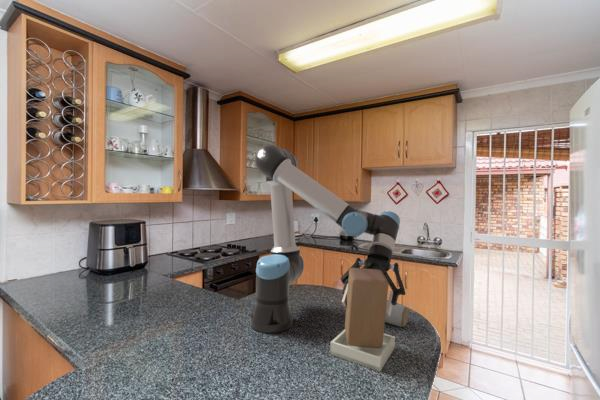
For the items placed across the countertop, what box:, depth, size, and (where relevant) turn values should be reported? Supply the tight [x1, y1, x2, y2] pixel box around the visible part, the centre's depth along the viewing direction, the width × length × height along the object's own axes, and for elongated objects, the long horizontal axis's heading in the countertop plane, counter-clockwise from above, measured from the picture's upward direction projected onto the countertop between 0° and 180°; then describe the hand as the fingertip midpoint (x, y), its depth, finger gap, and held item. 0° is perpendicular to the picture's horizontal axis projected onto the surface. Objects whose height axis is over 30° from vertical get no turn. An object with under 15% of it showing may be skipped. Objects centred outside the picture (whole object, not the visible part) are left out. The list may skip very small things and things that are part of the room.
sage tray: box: [329, 328, 396, 372], centre depth 86 cm, size 15×15×4 cm
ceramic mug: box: [385, 300, 410, 328], centre depth 106 cm, size 11×8×8 cm
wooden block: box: [344, 267, 389, 349], centre depth 84 cm, size 10×10×20 cm
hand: (364, 309), depth 84 cm, fingers closed on wooden block, 13 cm apart
